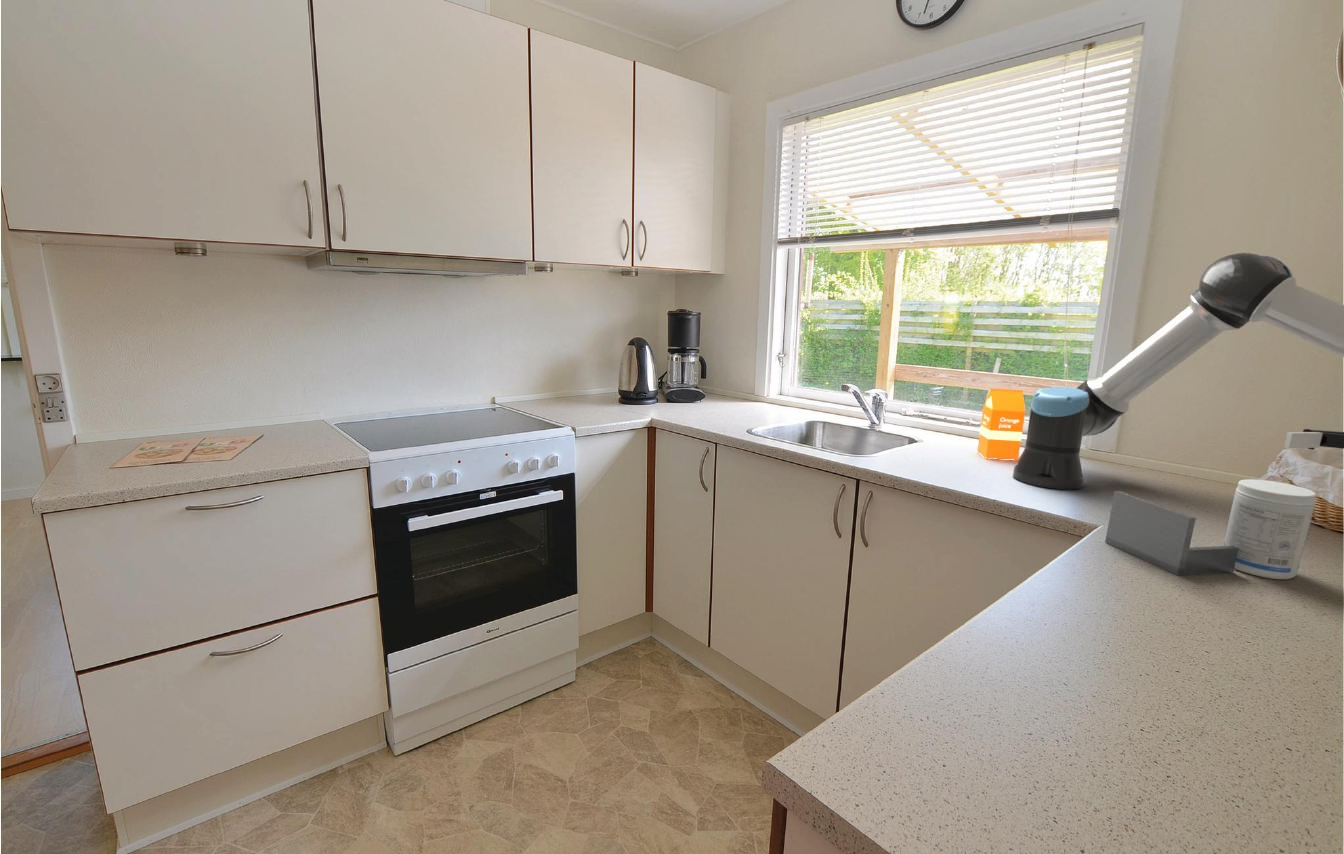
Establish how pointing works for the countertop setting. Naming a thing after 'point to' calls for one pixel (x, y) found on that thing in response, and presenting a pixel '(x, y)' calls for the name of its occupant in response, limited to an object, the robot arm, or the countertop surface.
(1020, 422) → the orange juice
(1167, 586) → the countertop surface
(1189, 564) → the bracket
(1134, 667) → the countertop surface
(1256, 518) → the supplement tub
